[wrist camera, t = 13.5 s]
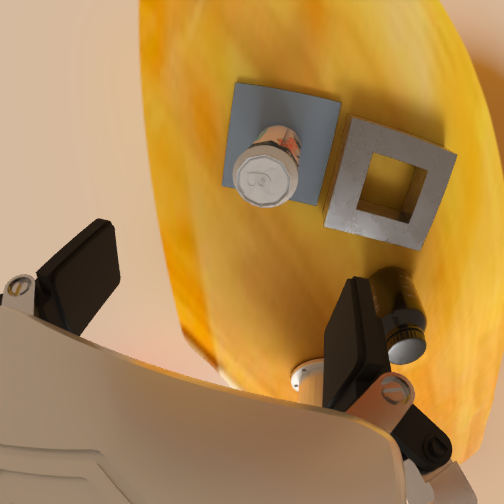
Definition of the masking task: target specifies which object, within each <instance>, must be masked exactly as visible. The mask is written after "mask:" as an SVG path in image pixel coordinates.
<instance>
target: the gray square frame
mask: <svg viewBox="0 0 504 504" xmlns="http://www.w3.org/2000/svg"><path fill="white" fill-rule="evenodd" d="M373 152H375V153H378V154H381V155H384V156H387V157H391V158H394V159H397V160H400V161H403V162H406V163H409V164H411V165H414V166H416V168H415V171H414V174H413V178H412V180H411V183H410V186H409V189H408V192H407V195H406V198H405V201H404V203H403V206H402V209H401V211H399V210H396V209H393V208H389V207H386V206H382V205H379V204H375V203H372V202H368V201H364V200H361V199H359V198H360V195H361V191H362V188H363V185H364V181H365V178H366V175H367V171H368V168H369V164H370V161H371V157H372V154H373ZM456 157H457V154H455V153H453V152H452V151H450V150H449V149H447V148H445V147H443V146H441V145H438V144H436V143H433V142H431V141H428V140H426V139H423V138H421V137H418V136H415V135H413V134H410V133H407V132H405V131H402V130H399V129H396V128H393V127H390V126H387V125H384V124H381V123H378V122H375V121H371V120H368V119H365V118H361V117H358V116H354V115H351V114H348V115H347V119H346V124H345V128H344V132H343V136H342V140H341V144H340V149H339V153H338V157H337V161H336V165H335V168H334V172H333V176H332V180H331V184H330V187H329V191H328V195H327V199H326V202H325V206H324V209H323V226H324V227H328V228H332V229H336V230H340V231H344V232H348V233H353V234H357V235H361V236H365V237H369V238H372V239H376V240H380V241H384V242H388V243H392V244H396V245H399V246H403V247H407V248H411V249H414V250H418V251H420V249H421V247H422V245H423V243H424V241H425V238H426V236H427V234H428V232H429V229H430V227H431V225H432V222H433V220H434V218H435V215H436V213H437V210H438V208H439V205H440V203H441V200H442V197H443V195H444V192H445V189H446V187H447V184H448V181H449V178H450V175H451V173H452V170H453V167H454V164H455V161H456Z"/></svg>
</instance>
